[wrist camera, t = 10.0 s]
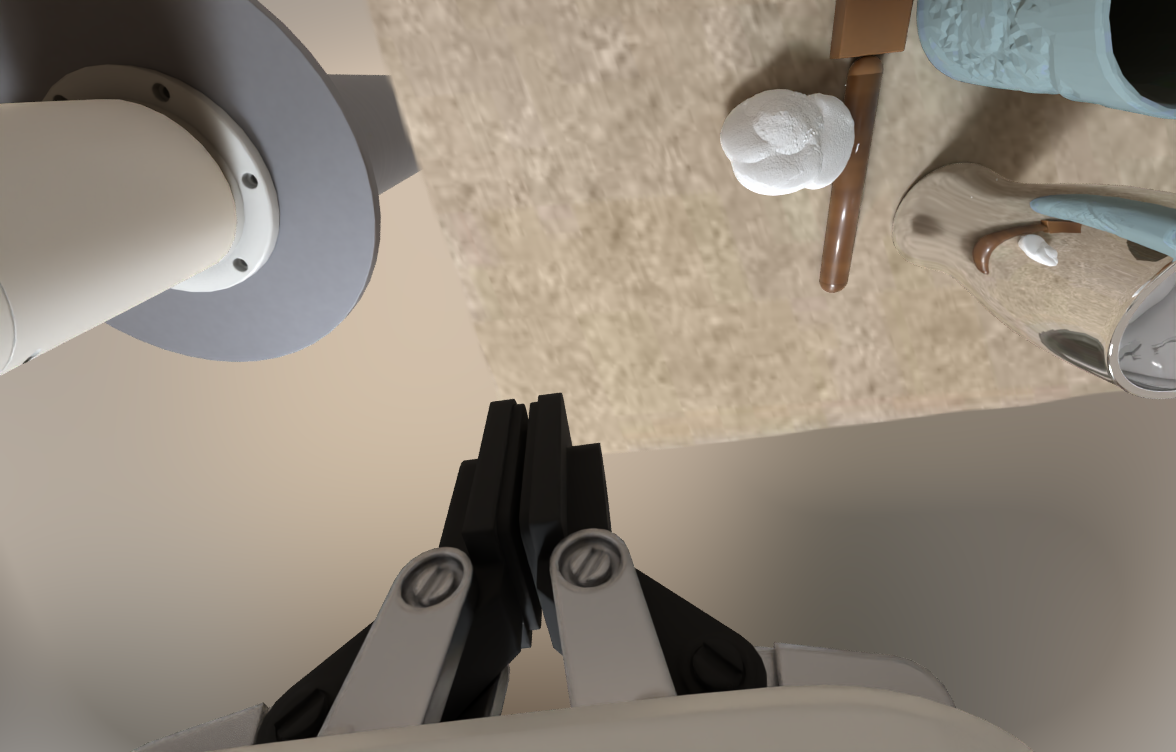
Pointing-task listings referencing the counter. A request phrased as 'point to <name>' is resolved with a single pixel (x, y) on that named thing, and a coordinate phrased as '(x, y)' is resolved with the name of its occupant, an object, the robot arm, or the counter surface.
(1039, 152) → the counter surface
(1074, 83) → the teal embossed cup
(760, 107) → the dumpling
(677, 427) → the counter surface
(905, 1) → the wooden spatula
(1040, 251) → the chrome tumbler
